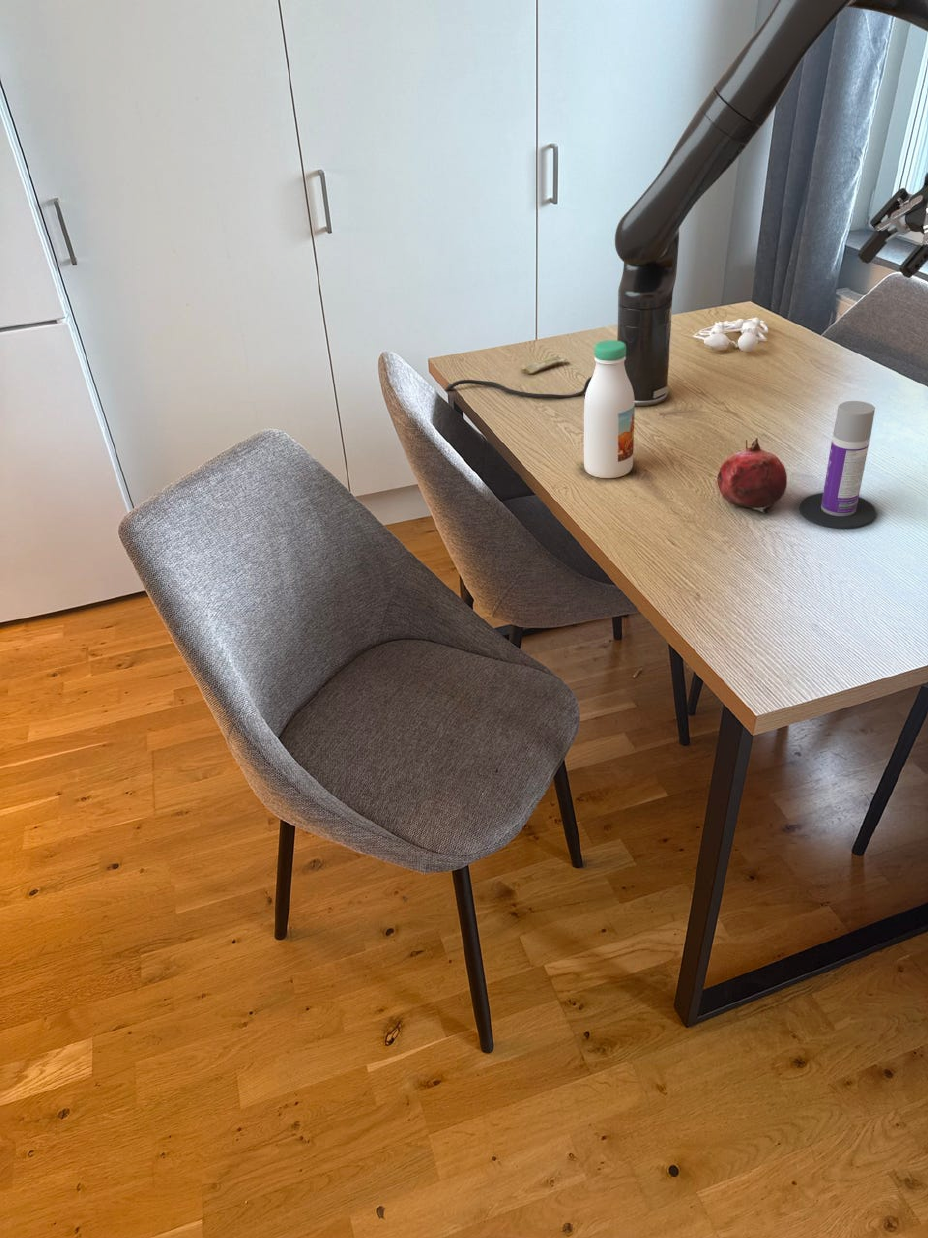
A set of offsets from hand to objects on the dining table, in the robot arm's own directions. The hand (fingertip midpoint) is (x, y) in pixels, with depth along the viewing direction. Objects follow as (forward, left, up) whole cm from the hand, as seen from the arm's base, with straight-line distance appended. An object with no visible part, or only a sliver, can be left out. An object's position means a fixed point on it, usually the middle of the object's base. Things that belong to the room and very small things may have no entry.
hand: (882, 266), depth 124 cm
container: (+3, -17, -28) cm, 33 cm away
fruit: (-9, -20, -29) cm, 36 cm away
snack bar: (-63, +18, -29) cm, 72 cm away
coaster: (+3, -17, -29) cm, 34 cm away
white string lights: (-34, +45, -29) cm, 63 cm away
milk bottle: (-32, -18, -29) cm, 47 cm away
